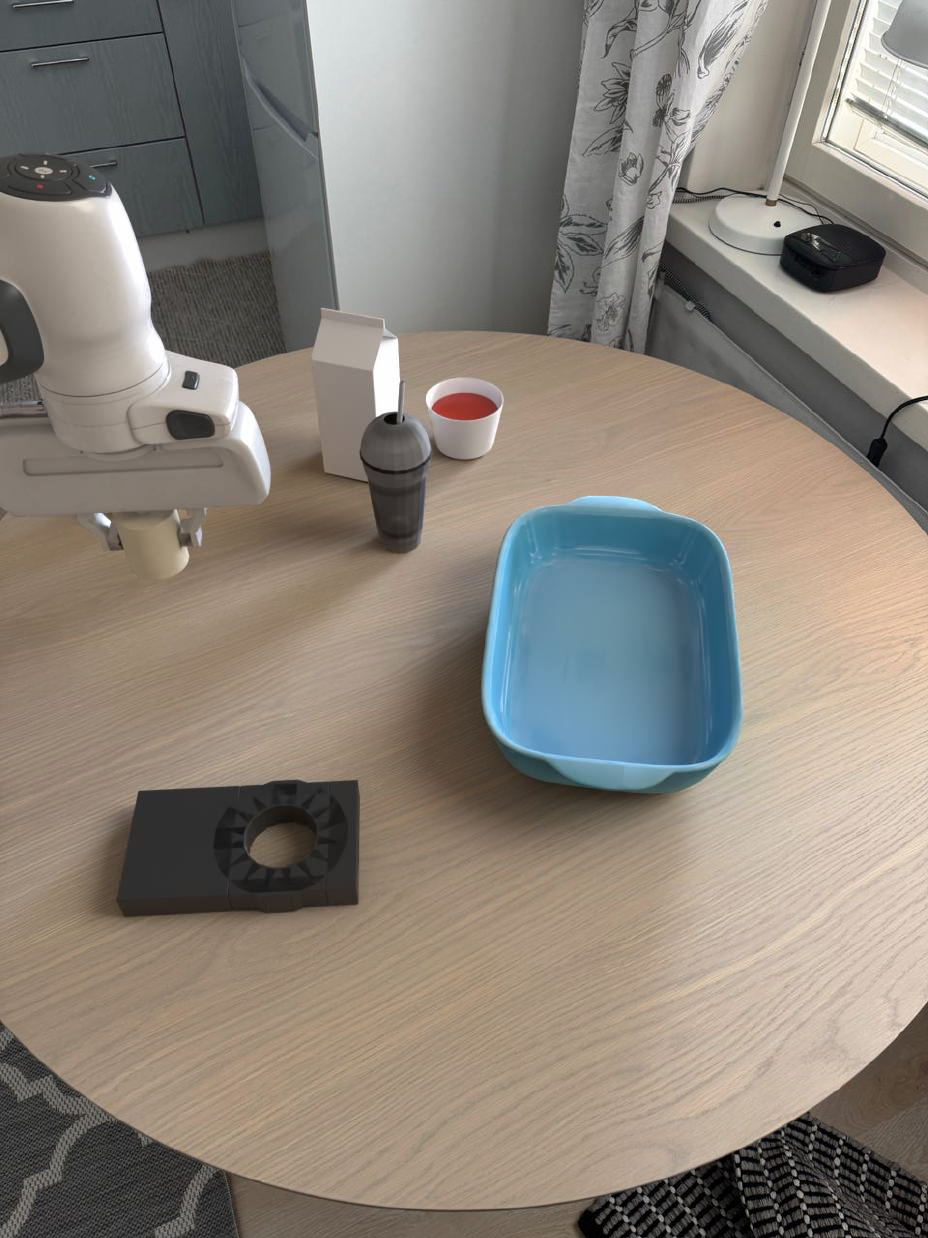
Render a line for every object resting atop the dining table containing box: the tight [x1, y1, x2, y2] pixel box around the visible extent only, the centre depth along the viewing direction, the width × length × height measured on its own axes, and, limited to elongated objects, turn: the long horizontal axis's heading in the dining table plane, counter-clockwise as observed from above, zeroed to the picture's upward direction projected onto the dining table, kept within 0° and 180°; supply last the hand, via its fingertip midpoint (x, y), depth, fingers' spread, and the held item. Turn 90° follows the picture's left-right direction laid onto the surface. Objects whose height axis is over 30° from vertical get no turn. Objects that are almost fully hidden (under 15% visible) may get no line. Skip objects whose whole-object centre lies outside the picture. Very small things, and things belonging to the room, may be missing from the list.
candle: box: [425, 377, 504, 460], centre depth 118 cm, size 9×9×6 cm
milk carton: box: [310, 307, 401, 483], centre depth 110 cm, size 7×7×19 cm
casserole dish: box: [480, 495, 744, 794], centre depth 92 cm, size 37×22×7 cm, turn 173°
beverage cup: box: [359, 379, 433, 554], centre depth 100 cm, size 7×7×20 cm
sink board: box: [116, 779, 361, 918], centre depth 80 cm, size 18×11×2 cm, turn 94°
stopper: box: [112, 509, 190, 582], centre depth 80 cm, size 5×5×7 cm
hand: (154, 544), depth 81 cm, fingers closed on stopper, 5 cm apart
